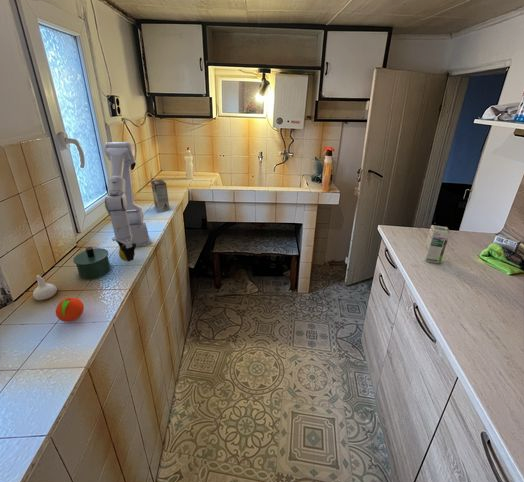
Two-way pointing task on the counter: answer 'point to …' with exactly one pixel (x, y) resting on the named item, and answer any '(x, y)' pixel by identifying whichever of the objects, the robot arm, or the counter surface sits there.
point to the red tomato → (69, 309)
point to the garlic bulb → (44, 289)
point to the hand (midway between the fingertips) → (128, 256)
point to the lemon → (123, 255)
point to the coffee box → (160, 195)
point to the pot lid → (90, 256)
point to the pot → (94, 270)
